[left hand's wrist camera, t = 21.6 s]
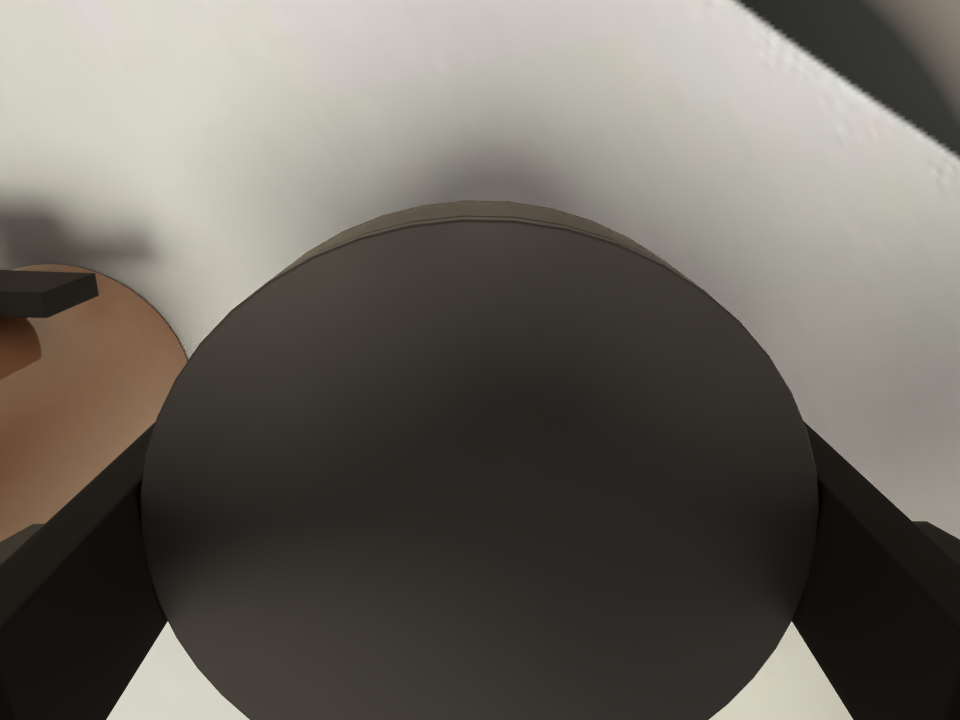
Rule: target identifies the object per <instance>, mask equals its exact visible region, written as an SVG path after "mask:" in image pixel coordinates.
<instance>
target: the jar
mask: <svg viewBox="0 0 960 720" xmlns="http://www.w3.org/2000/svg"><path fill="white" fill-rule="evenodd" d="M13 270H17V271H48V272H78V273H95V275H96V281H97V287H98V293H99V296H97V297H95V298H92V299H90V300H88V301H85V302H83V303H81V304H79V305H76V306H74V307H72V308H69V309H67V310H65V311H62V312H60V313H58V314H55V315H53V316H51V317H48V318H25V317H0V542H1V541H3V540H5V539H7V538H9V537H10V536H12V535H14V534H16V533H18V532H19V531H21V530H23V529H25V528H27V527H28V526H30V525H32V524H45V523H46V522H48V521H49V520H50V519H51V518H52V517H53V516H54V515H55V514H56V513H57V512H58V511H59V510H61V509H62V508H63V507H64V506H65V505H66V504H67V503H68V502H69V501H70V500H71V499H72V498H73V497H75V496H76V495H77V494H78V493H79V492H80V491H81V490H82V489H83V488H84V487H85V486H86V485H88V484H89V483H90V482H91V481H92V480H93V479H94V478H95V477H96V476H97V475H98V474H99V473H101V472H102V471H103V470H104V469H105V468H106V467H107V466H108V465H109V464H110V463H111V462H112V461H114V460H115V459H116V458H117V457H118V456H119V455H120V454H121V453H122V452H123V451H124V450H125V449H126V448H128V447H129V446H130V445H131V444H132V443H133V442H134V441H135V440H136V439H137V438H138V437H139V436H141V435H142V434H143V433H144V432H145V431H146V430H147V429H148V428H149V427H150V426H151V425H152V424H154V423H155V422H156V419H157V416H158V414H159V412H160V410H161V408H162V406H163V404H164V402H165V399H166V397H167V395H168V393H169V391H170V389H171V387H172V385H173V383H174V381H175V379H176V377H177V376H178V375H179V373H180V372H181V370H182V369H183V367H184V366H185V364H186V363H187V362H188V361H187V359H186V356H185V354H184V351H183V349H182V347H181V345H180V343H179V341H178V339H177V337H176V336H175V334H174V333H173V331H172V330H171V328H170V327H169V326H168V324H167V323H166V322H165V320H164V319H163V318H162V317H161V316H160V315H159V314H158V312H157V311H156V310H155V309H154V308H153V307H151V306H150V305H149V304H148V303H147V302H146V301H145V300H144V299H143V298H141V297H140V296H139V295H137V294H136V293H135V292H133V291H132V290H130V289H129V288H127V287H126V286H124V285H122V284H120V283H119V282H117V281H115V280H113V279H111V278H109V277H106V276H104V275H102V274H99V273H97V272H93V271H90V270H87V269H84V268H80V267H74V266H69V265H60V264H39V265H30V266H26V267H21V268H17V269H13Z"/></svg>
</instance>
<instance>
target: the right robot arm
mask: <svg viewBox="0 0 960 720" xmlns="http://www.w3.org/2000/svg"><path fill="white" fill-rule="evenodd" d="M97 296H99V293H98V287H97V281H96V275H95V273H78V272H48V271H17V270H0V317H25V318H48V317H51V316H53V315H55V314H58V313H60V312H62V311H65V310H67V309H69V308H72V307H74V306H76V305H79V304H81V303H83V302H85V301H88V300H90V299H92V298H95V297H97Z"/></svg>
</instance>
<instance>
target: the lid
mask: <svg viewBox="0 0 960 720" xmlns="http://www.w3.org/2000/svg"><path fill="white" fill-rule="evenodd" d="M140 503H141V533H142V538H143V543H144V548H145V553H146V557H147V562H148V567H149V572H150V576H151V580H152V583H153V586H154V589H155V592H156V595H157V598H158V601H159V604H160V606H161V608H162V610H163V612H164V614H165V616H166V618H167V620H168V622H169V624H170V626H171V628H172V630H173V632H174V634H175V635H176V637H177V639H178V640H179V642H180V643H181V645H182V646H183V648H184V649H185V651H186V652H187V653H188V655H189V656H190V658H191V659H192V661H193V662H194V664H195V665H196V666H197V668H198V669H199V670H200V671H201V672H202V673H203V675H204V676H205V677H206V678H207V679H208V680H209V681H210V682H211V683H212V685H213V686H214V687H215V688H216V689H217V690H218V691H219V692H220V693H221V695H222V696H224V697H225V698H226V699H227V700H228V701H229V702H230V703H231V704H233V705H234V706H235V707H236V708H237V709H238V710H239V711H241V712H242V713H243V714H244V715H245V716H246V717H247V718H249V719H250V720H709V719H710V718H711V717H712V716H714V715H715V714H716V713H717V712H719V711H720V710H721V709H722V708H724V707H725V706H726V705H727V704H728V703H729V702H730V701H731V700H732V699H733V698H734V697H735V696H736V695H737V694H738V693H739V692H740V691H741V690H742V689H743V688H744V687H745V686H746V685H747V684H748V683H749V682H750V681H751V680H752V679H753V678H754V676H755V675H756V674H757V673H758V671H759V670H760V669H761V667H762V666H763V665H764V663H765V662H766V661H767V659H768V658H769V657H770V655H771V654H772V653H773V652H774V650H775V649H776V647H777V645H778V644H779V642H780V640H781V638H782V637H783V635H784V633H785V632H786V630H787V628H788V626H789V625H790V623H791V621H792V619H793V618H794V615H795V613H796V610H797V608H798V605H799V603H800V600H801V598H802V595H803V593H804V590H805V588H806V585H807V582H808V577H809V573H810V568H811V564H812V559H813V554H814V550H815V545H816V539H817V531H818V519H819V498H818V485H817V471H816V466H815V462H814V457H813V453H812V449H811V445H810V441H809V436H808V432H807V429H806V427H805V424H804V422H803V419H802V417H801V415H800V412H799V410H798V407H797V405H796V402H795V400H794V398H793V395H792V393H791V391H790V389H789V388H788V386H787V385H786V383H785V381H784V380H783V378H782V376H781V375H780V373H779V372H778V370H777V368H776V367H775V365H774V363H773V362H772V360H771V359H770V357H769V355H768V354H767V353H766V352H765V351H764V350H763V348H762V347H761V346H760V345H759V344H758V342H757V341H756V340H755V339H754V338H753V337H752V335H751V334H750V333H749V332H748V331H747V330H746V328H745V327H744V326H743V325H742V324H741V323H740V321H738V320H737V319H736V318H735V317H734V316H733V315H732V314H730V313H729V312H728V311H727V310H726V309H725V308H723V307H722V306H721V305H720V304H719V303H718V302H717V301H715V300H714V299H713V298H712V297H711V296H710V295H709V294H707V293H706V292H705V291H704V290H702V289H701V288H700V287H698V286H697V285H696V284H695V283H693V282H692V281H691V280H689V279H688V278H687V277H685V276H684V275H683V274H681V273H680V272H679V271H677V270H676V269H675V268H673V267H672V266H671V265H669V264H668V263H667V262H665V261H664V260H663V259H661V258H659V257H658V256H656V255H655V254H653V253H652V252H650V251H649V250H647V249H645V248H644V247H642V246H641V245H639V244H638V243H636V242H635V241H633V240H631V239H630V238H628V237H626V236H624V235H621V234H619V233H617V232H615V231H613V230H611V229H608V228H606V227H604V226H602V225H600V224H598V223H595V222H593V221H591V220H588V219H584V218H581V217H578V216H574V215H571V214H568V213H564V212H561V211H558V210H554V209H551V208H545V207H539V206H532V205H526V204H520V203H514V202H498V201H459V202H450V203H441V204H432V205H423V206H419V207H415V208H411V209H407V210H403V211H399V212H395V213H391V214H387V215H383V216H380V217H378V218H375V219H373V220H370V221H368V222H365V223H363V224H360V225H358V226H355V227H353V228H350V229H348V230H345V231H343V232H341V233H339V234H338V235H336V236H334V237H333V238H331V239H329V240H327V241H326V242H324V243H322V244H320V245H319V246H317V247H315V248H313V249H312V250H310V251H308V252H307V253H305V254H304V255H303V256H301V257H300V258H299V259H298V260H296V261H295V262H294V263H292V264H291V265H290V266H288V267H287V268H286V269H284V270H283V271H282V272H280V273H279V274H278V275H276V276H275V277H274V278H272V279H271V280H270V281H268V282H267V283H266V284H265V285H263V286H262V287H261V288H259V289H258V290H257V291H256V292H254V293H253V294H252V295H250V296H249V297H248V298H247V299H245V300H244V301H243V302H242V303H240V304H239V305H238V306H236V307H235V308H234V309H233V310H231V311H230V312H229V313H228V315H227V316H226V317H225V318H224V319H223V320H222V321H221V322H220V323H219V324H218V325H217V326H216V327H215V328H214V329H213V330H212V331H211V332H210V333H209V335H208V336H207V337H206V338H205V339H204V340H203V341H202V342H201V343H200V344H199V346H198V347H197V349H196V350H195V351H194V353H193V354H192V356H191V357H190V359H189V360H188V362H187V363H186V364H185V366H184V367H183V369H182V370H181V372H180V373H179V375H178V376H177V377H176V379H175V381H174V383H173V385H172V387H171V389H170V391H169V393H168V395H167V397H166V399H165V402H164V404H163V406H162V408H161V410H160V412H159V414H158V416H157V419H156V422H155V425H154V429H153V432H152V436H151V439H150V442H149V446H148V449H147V452H146V456H145V463H144V471H143V479H142V486H141V494H140Z"/></svg>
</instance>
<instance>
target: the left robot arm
mask: <svg viewBox="0 0 960 720" xmlns="http://www.w3.org/2000/svg"><path fill="white" fill-rule="evenodd" d="M803 422H804V421H803ZM804 424H805V427H806V429H807V432H808V436H809V441H810V445H811V449H812V453H813V457H814V462H815V466H816V471H817V485H818V498H819V519H818V531H817V539H816V545H815V550H814V554H813V559H812V564H811V568H810V573H809V577H808V582H807V585H806V588H805V590H804V593H803V595H802V598H801V600H800V603H799V605H798V608H797V610H796V613H795V615H794V618H793V619H792V622H793V624H794V625H795V627H796V628H797V630H798V632H799V633H800V635H801V636H802V638H803V640H804V641H805V643H806V644H807V646H808V648H809V649H810V651H811V652H812V654H813V656H814V657H815V659H816V660H817V662H818V664H819V665H820V667H821V668H822V670H823V672H824V673H825V675H826V676H827V678H828V680H829V681H830V683H831V684H832V686H833V688H834V689H835V691H836V692H837V694H838V696H839V697H840V699H841V700H842V702H843V704H844V705H845V707H846V708H847V710H848V712H849V713H850V715H851V716H852V718H853V720H960V540H959V539H958V538H956V537H954V536H952V535H950V534H948V533H947V532H945V531H943V530H941V529H939V528H938V527H936V526H934V525H932V524H930V523H929V522H912V521H911V520H910V519H909V518H908V517H907V516H906V515H904V514H903V513H902V512H901V511H900V510H899V509H898V508H897V507H896V506H895V505H894V504H893V503H891V502H890V501H889V500H888V499H887V498H886V497H885V496H884V495H883V494H882V493H881V492H880V491H878V490H877V489H876V488H875V487H874V486H873V485H872V484H871V483H870V482H869V481H868V480H867V479H866V478H864V477H863V476H862V475H861V474H860V473H859V472H858V471H857V470H856V469H855V468H854V467H853V466H851V465H850V464H849V463H848V462H847V461H846V460H845V459H844V458H843V457H842V456H841V455H840V454H838V453H837V452H836V451H835V450H834V449H833V448H832V447H831V446H830V445H829V444H828V443H827V442H826V441H824V440H823V439H822V438H821V437H820V436H819V435H818V434H817V433H816V432H815V431H814V430H813V429H811V428H810V427H809V426H808V425H807V424H806V423H805V422H804ZM154 425H155V423H154V424H152V425H151V426H150V427H149V428H148V429H147V430H146V431H145V432H144V433H143V434H142V435H141V436H139V437H138V438H137V439H136V440H135V441H134V442H133V443H132V444H131V445H130V446H129V447H128V448H126V449H125V450H124V451H123V452H122V453H121V454H120V455H119V456H118V457H117V458H116V459H115V460H114V461H112V462H111V463H110V464H109V465H108V466H107V467H106V468H105V469H104V470H103V471H102V472H101V473H99V474H98V475H97V476H96V477H95V478H94V479H93V480H92V481H91V482H90V483H89V484H88V485H86V486H85V487H84V488H83V489H82V490H81V491H80V492H79V493H78V494H77V495H76V496H75V497H73V498H72V499H71V500H70V501H69V502H68V503H67V504H66V505H65V506H64V507H63V508H62V509H61V510H59V511H58V512H57V513H56V514H55V515H54V516H53V517H52V518H51V519H50V520H49V521H48V522H46V523H45V524H32V525H30V526H28V527H27V528H25V529H23V530H21V531H19V532H18V533H16V534H14V535H12V536H10V537H9V538H7V539H5V540H3V541H1V542H0V720H106V719H107V717H108V716H109V714H110V713H111V711H112V709H113V708H114V706H115V705H116V703H117V701H118V700H119V698H120V696H121V695H122V693H123V692H124V690H125V688H126V687H127V685H128V684H129V682H130V680H131V679H132V677H133V676H134V674H135V672H136V671H137V669H138V668H139V666H140V664H141V663H142V661H143V660H144V658H145V656H146V655H147V653H148V652H149V650H150V648H151V647H152V645H153V644H154V642H155V640H156V639H157V637H158V636H159V634H160V632H161V631H162V629H163V628H164V626H165V624H166V623H167V621H168V620H167V618H166V616H165V614H164V612H163V610H162V608H161V606H160V604H159V601H158V598H157V595H156V592H155V589H154V586H153V583H152V580H151V576H150V572H149V567H148V562H147V557H146V553H145V548H144V543H143V538H142V533H141V503H140V494H141V486H142V479H143V471H144V463H145V456H146V452H147V449H148V446H149V442H150V439H151V436H152V432H153V429H154Z"/></svg>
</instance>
